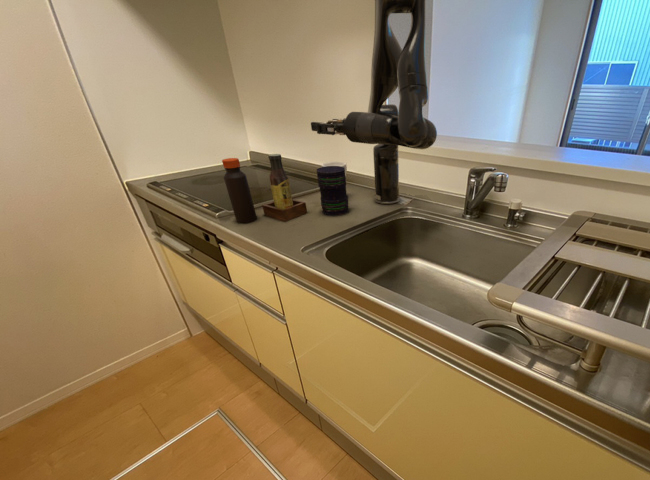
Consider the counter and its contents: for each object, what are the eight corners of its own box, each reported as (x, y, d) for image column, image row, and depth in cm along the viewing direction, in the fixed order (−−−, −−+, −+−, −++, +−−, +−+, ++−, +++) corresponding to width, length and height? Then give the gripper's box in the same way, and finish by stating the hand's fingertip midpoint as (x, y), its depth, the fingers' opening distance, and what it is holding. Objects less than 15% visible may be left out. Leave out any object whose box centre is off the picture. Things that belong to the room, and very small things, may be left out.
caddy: (287, 207, 130) (285, 197, 128) (307, 212, 125) (305, 202, 123) (264, 215, 123) (262, 205, 121) (285, 221, 118) (282, 210, 115)
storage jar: (348, 215, 122) (344, 172, 113) (320, 216, 121) (314, 173, 113) (349, 206, 130) (345, 165, 122) (323, 207, 129) (318, 166, 121)
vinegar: (260, 219, 119) (245, 159, 108) (241, 224, 115) (223, 162, 104) (251, 215, 123) (236, 156, 112) (233, 220, 119) (215, 159, 108)
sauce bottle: (289, 216, 120) (277, 157, 109) (273, 215, 121) (260, 156, 110) (297, 210, 126) (287, 153, 114) (282, 209, 127) (270, 152, 115)
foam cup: (330, 193, 144) (326, 161, 136) (351, 194, 143) (348, 161, 135) (323, 200, 136) (318, 166, 129) (345, 201, 135) (342, 167, 128)
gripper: (381, 110, 94) (338, 108, 102) (346, 114, 85) (301, 112, 92) (382, 139, 98) (340, 135, 106) (349, 147, 89) (306, 142, 96)
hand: (322, 124), depth 99 cm, fingers open, 8 cm apart
